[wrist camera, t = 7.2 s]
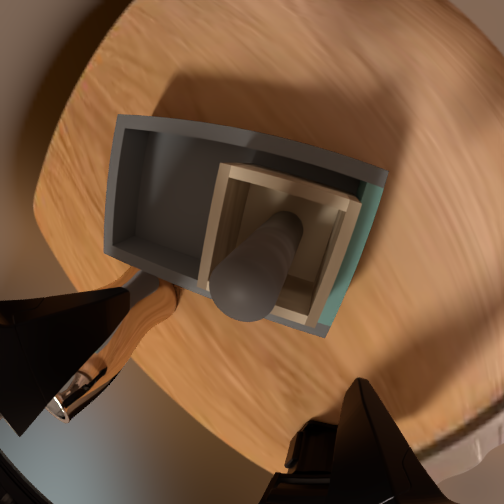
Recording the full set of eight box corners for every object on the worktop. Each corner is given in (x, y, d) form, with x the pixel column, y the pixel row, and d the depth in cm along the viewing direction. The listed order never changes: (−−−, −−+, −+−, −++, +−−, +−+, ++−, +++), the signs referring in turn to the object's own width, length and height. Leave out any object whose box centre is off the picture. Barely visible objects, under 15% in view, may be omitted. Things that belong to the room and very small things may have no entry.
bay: (376, 170, 16) (388, 171, 13) (326, 308, 20) (325, 338, 17) (149, 118, 19) (117, 114, 16) (132, 239, 23) (103, 252, 20)
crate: (352, 193, 16) (381, 225, 7) (319, 289, 19) (304, 389, 10) (248, 162, 17) (167, 164, 8) (227, 258, 20) (151, 329, 11)
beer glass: (122, 249, 24) (-7, 320, 11) (182, 267, 23) (46, 374, 9) (126, 309, 27) (26, 391, 13) (181, 331, 25) (84, 441, 12)
